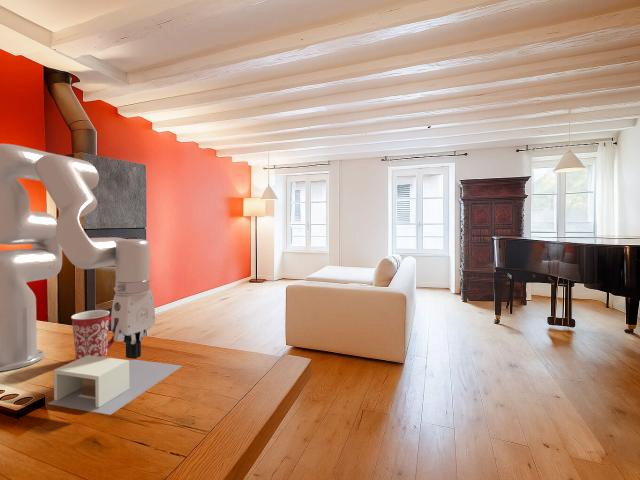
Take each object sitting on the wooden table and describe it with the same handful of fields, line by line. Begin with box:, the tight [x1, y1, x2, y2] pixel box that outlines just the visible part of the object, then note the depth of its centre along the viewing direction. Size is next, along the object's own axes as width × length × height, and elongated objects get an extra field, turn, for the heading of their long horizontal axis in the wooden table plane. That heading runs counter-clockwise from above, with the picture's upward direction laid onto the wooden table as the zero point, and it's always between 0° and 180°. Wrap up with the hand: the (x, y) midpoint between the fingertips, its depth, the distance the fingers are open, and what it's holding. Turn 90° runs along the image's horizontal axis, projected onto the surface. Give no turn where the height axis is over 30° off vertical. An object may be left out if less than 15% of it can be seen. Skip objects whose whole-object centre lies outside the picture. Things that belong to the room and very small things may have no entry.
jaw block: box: [82, 378, 96, 397], centre depth 72 cm, size 4×4×5 cm
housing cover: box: [53, 355, 130, 408], centre depth 71 cm, size 12×8×7 cm
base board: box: [47, 358, 183, 416], centre depth 77 cm, size 16×23×3 cm
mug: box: [70, 309, 115, 361], centre depth 92 cm, size 13×9×14 cm
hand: (133, 356), depth 82 cm, fingers closed
